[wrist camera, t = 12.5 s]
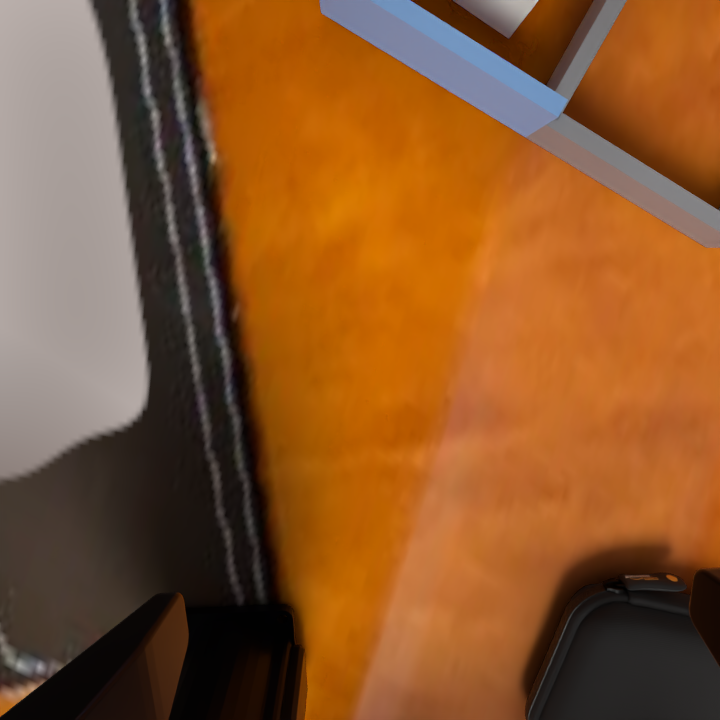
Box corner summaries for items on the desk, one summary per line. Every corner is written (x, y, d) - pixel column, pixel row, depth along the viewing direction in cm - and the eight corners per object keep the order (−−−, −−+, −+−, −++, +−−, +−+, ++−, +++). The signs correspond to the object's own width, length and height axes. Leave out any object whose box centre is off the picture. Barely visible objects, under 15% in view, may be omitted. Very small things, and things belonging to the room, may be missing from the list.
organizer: (853, 27, 18) (951, -15, 15) (706, 247, 20) (767, 247, 17) (446, -266, 16) (468, -383, 13) (321, 13, 18) (315, -34, 15)
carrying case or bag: (839, 598, 25) (574, 539, 23) (906, 646, 22) (607, 581, 20) (750, 755, 27) (505, 708, 26) (800, 818, 24) (526, 768, 23)
